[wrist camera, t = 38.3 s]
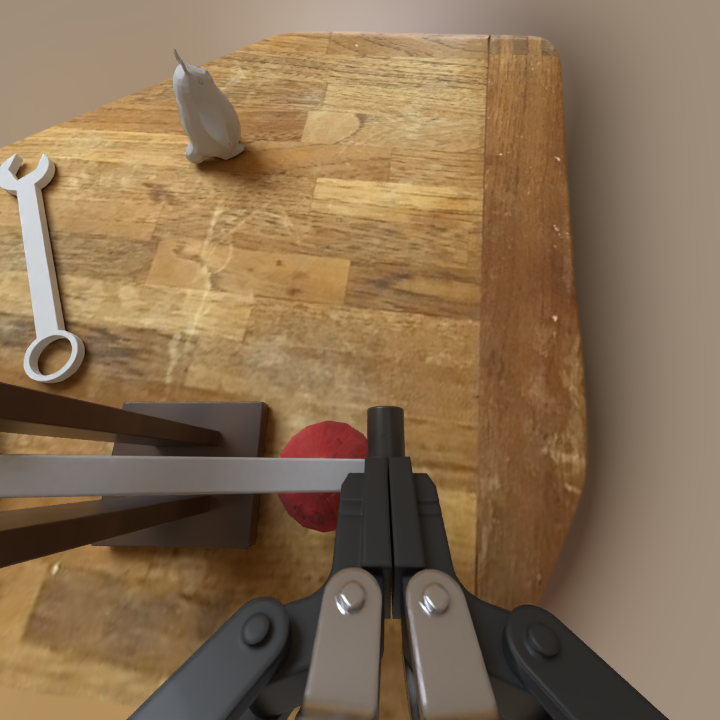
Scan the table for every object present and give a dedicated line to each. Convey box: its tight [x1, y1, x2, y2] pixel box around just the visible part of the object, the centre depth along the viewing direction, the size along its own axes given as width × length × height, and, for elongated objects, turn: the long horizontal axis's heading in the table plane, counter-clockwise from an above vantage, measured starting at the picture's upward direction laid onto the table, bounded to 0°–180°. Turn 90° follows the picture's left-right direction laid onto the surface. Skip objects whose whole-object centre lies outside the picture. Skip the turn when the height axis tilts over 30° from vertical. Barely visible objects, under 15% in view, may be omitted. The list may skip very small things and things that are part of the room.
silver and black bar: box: [0, 406, 405, 498], centre depth 10 cm, size 16×5×2 cm, turn 90°
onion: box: [278, 421, 367, 532], centre depth 18 cm, size 6×6×8 cm
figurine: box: [173, 49, 246, 164], centre depth 28 cm, size 8×6×8 cm
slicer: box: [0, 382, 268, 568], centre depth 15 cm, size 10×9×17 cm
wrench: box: [0, 154, 85, 383], centre depth 28 cm, size 25×1×5 cm
